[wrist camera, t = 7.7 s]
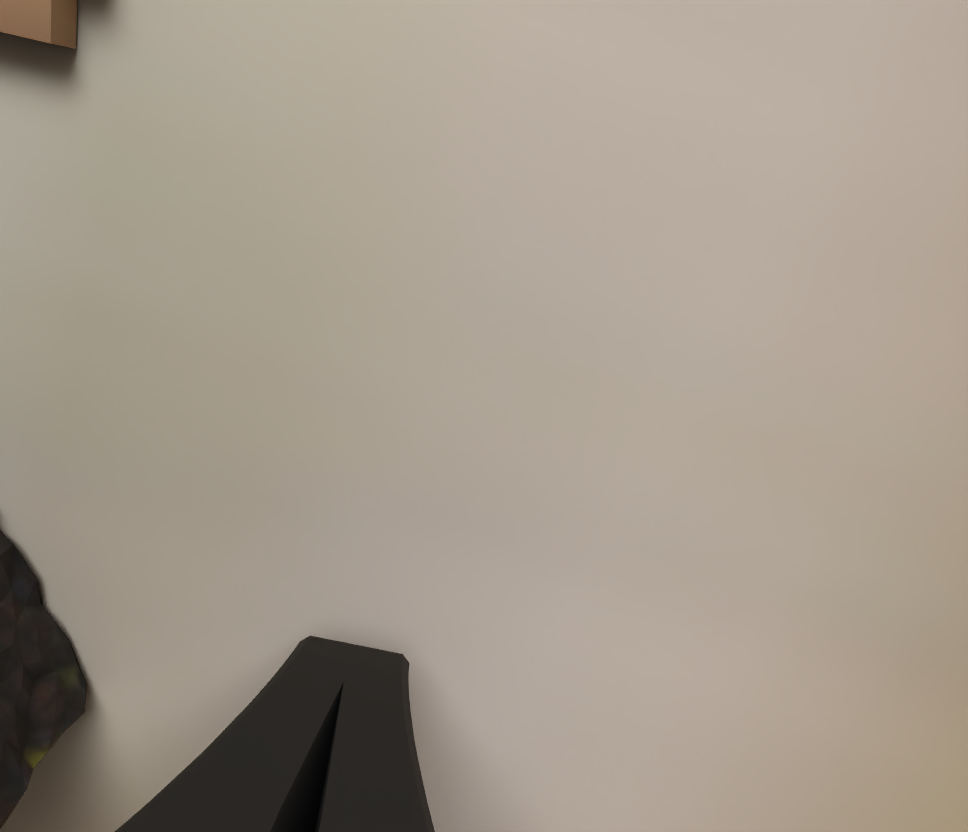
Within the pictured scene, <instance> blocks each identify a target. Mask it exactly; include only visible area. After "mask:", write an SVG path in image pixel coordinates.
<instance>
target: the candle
mask: <svg viewBox="0 0 968 832" xmlns="http://www.w3.org/2000/svg"><path fill="white" fill-rule="evenodd" d="M85 701H86V682H85V680H84V678H83V676H82V674H81V672H80V669H79V667H78V665H77V662H76V659H75V656H74V653H73V651H72V648H71V645H70V642H69V640H68V638H67V637H66V636H65V634H64V633H63V632H62V631H61V629H60V628H59V627H58V625H57V624H56V623H55V621H54V620H53V619H52V617H51V616H50V615H49V614H48V612H47V611H46V610H45V608H44V607H43V606H42V604H41V602H40V596H39V591H38V586H37V581H36V578H35V576H34V575H33V573H32V572H31V570H30V569H29V567H28V566H27V564H26V563H25V561H24V560H23V558H22V557H21V555H20V554H19V552H18V551H17V549H16V548H15V546H14V545H13V544H12V543H11V542H10V541H9V540H8V539H7V538H6V537H5V535H4V534H3V533H2V532H1V531H0V829H1V828H2V826H3V825H4V823H5V821H6V820H7V818H8V817H9V815H10V814H11V812H12V811H13V809H14V808H15V806H16V805H17V803H18V802H19V800H20V799H21V797H22V796H23V794H24V792H25V791H26V789H27V786H28V783H29V780H30V777H31V774H32V771H33V768H34V767H35V766H36V765H37V763H38V762H39V761H40V760H41V759H42V758H43V756H44V755H45V754H46V753H47V752H48V751H49V749H50V748H51V747H52V746H53V744H54V743H55V742H56V740H57V739H58V738H59V737H60V735H61V734H62V733H63V732H64V731H65V730H66V729H67V728H68V727H69V726H70V725H71V724H72V723H73V722H75V721H76V720H77V719H78V718H79V717H80V716H81V715H82V714H83V713H84V712H85Z"/></svg>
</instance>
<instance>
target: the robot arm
mask: <svg viewBox="0 0 968 832" xmlns="http://www.w3.org/2000/svg"><path fill="white" fill-rule="evenodd" d="M408 671H409V662H408V661H407V660H406V658H405V657H404V655H403V654H399V653H394V652H389V651H384V650H379V649H374V648H369V647H364V646H359V645H354V644H349V643H344V642H339V641H334V640H329V639H324V638H319V637H314V636H309V637H307V638H305V639H304V640H302V641H300V642H299V644H298V645H297V647H296V648H295V650H294V651H293V652H292V654H291V655H290V656H289V658H288V659H287V660H286V662H285V663H284V664H283V665H282V667H281V668H280V669H279V670H278V672H277V673H276V674H275V675H274V676H273V678H272V679H271V680H270V681H269V682H268V683H267V685H266V686H265V687H264V688H263V689H262V690H261V691H260V692H259V694H258V695H257V696H256V697H255V698H254V699H253V700H252V702H251V703H250V704H249V705H248V706H247V707H246V708H245V709H244V710H243V711H242V712H241V713H240V714H239V715H238V716H237V717H236V718H235V719H234V721H233V722H232V723H231V724H230V725H229V726H228V727H227V728H226V729H225V730H224V731H223V732H222V733H221V734H220V735H219V736H218V737H217V738H216V739H215V740H214V741H213V742H212V743H211V744H210V745H209V746H208V747H207V748H206V749H205V750H204V751H203V752H202V753H201V754H200V755H199V756H198V757H197V758H196V759H195V760H194V761H193V762H192V763H191V764H190V765H189V766H187V767H186V768H185V769H184V770H183V771H182V772H181V773H180V774H179V775H178V776H177V777H176V778H175V779H174V780H172V781H171V782H170V783H169V784H168V785H167V786H166V787H165V788H164V789H163V790H162V791H161V792H160V793H158V794H157V795H156V796H155V797H154V798H153V799H152V800H151V801H150V802H149V803H148V804H146V805H145V806H144V807H143V808H142V809H141V810H140V811H138V812H137V813H136V814H135V815H134V816H133V817H131V818H130V819H129V820H128V821H127V822H126V823H124V824H123V825H122V826H121V827H120V828H119V829H117V830H116V831H115V832H435V831H434V827H433V824H432V820H431V816H430V812H429V808H428V804H427V800H426V795H425V790H424V786H423V781H422V776H421V771H420V767H419V762H418V757H417V752H416V746H415V741H414V734H413V727H412V719H411V712H410V702H409V687H408Z"/></svg>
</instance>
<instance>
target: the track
mask: <svg viewBox="0 0 968 832" xmlns="http://www.w3.org/2000/svg"><path fill="white" fill-rule="evenodd" d="M76 22H77V0H0V32H3V33H8V34H12V35H16V36H20V37H25V38H29V39H33V40H38V41H42V42H46V43H51V44H55V45H60V46H65V47H69V48H74V49H76Z"/></svg>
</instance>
